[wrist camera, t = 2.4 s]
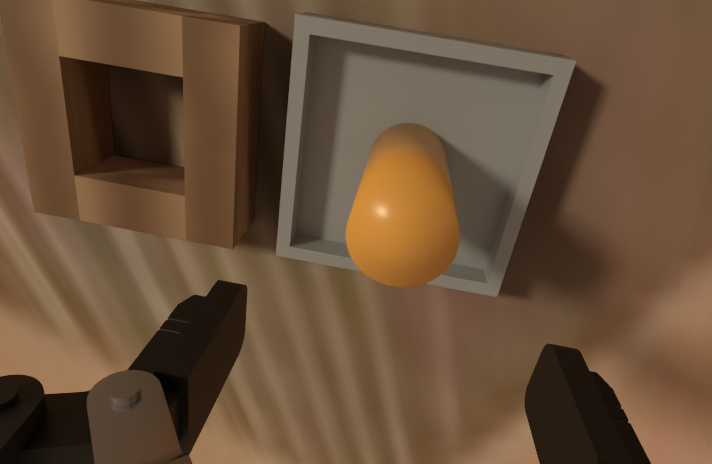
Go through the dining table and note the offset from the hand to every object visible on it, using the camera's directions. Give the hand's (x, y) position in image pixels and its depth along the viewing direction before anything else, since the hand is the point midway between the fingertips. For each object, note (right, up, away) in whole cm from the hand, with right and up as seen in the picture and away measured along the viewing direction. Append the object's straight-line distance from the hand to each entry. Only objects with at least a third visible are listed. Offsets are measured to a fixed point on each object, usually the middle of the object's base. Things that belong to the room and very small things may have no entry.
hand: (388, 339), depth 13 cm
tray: (+2, +7, +15) cm, 17 cm away
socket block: (-13, +10, +16) cm, 23 cm away
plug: (+2, +7, +15) cm, 16 cm away
